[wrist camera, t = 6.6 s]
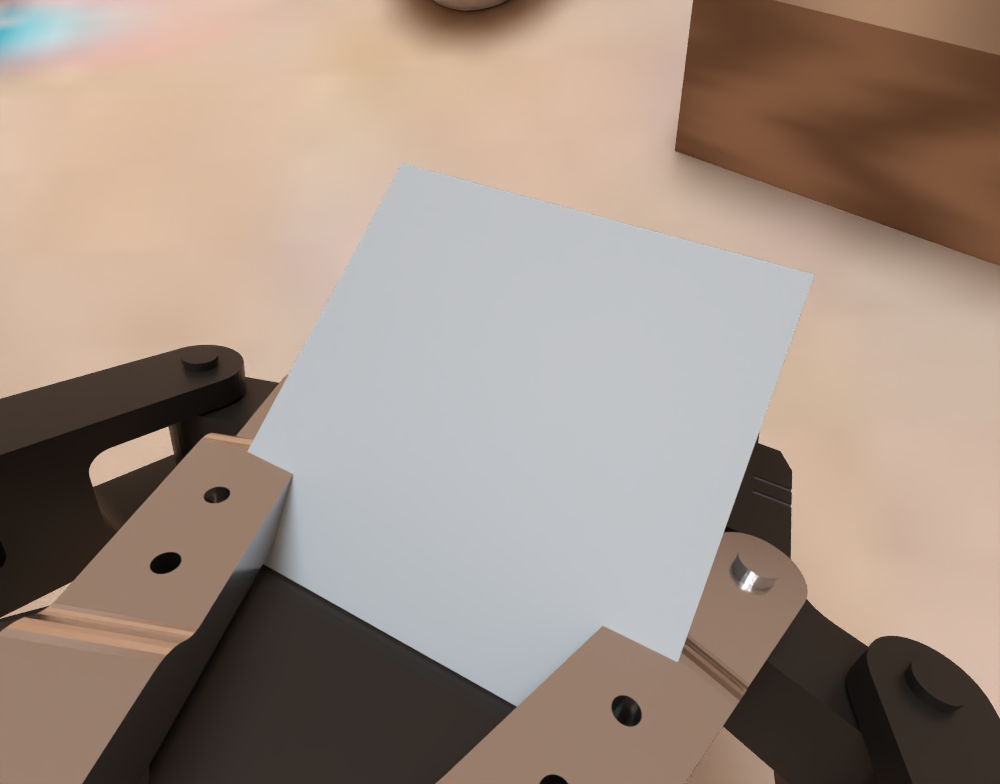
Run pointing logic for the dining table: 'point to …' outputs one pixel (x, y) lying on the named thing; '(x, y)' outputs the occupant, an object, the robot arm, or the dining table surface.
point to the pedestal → (856, 107)
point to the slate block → (523, 427)
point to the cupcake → (469, 4)
